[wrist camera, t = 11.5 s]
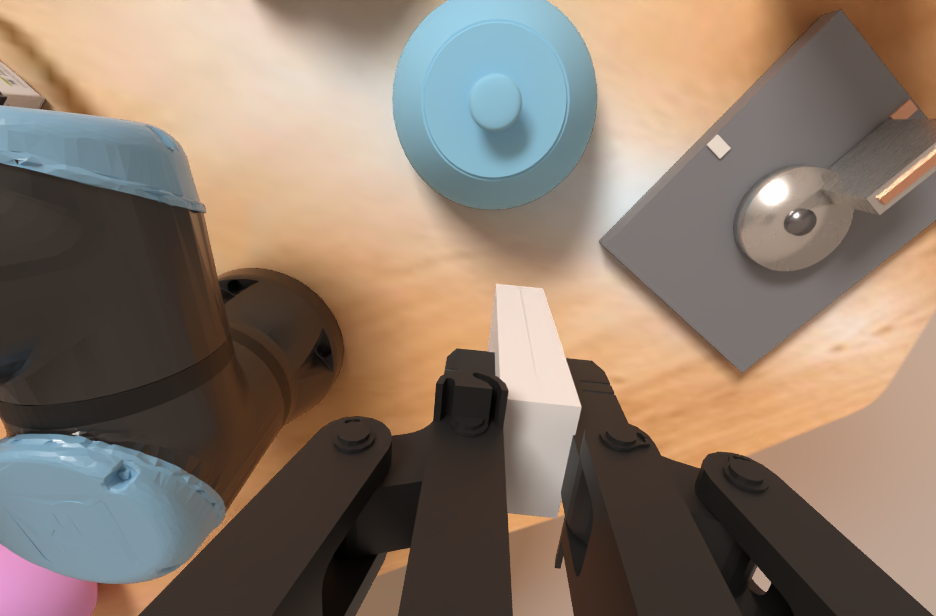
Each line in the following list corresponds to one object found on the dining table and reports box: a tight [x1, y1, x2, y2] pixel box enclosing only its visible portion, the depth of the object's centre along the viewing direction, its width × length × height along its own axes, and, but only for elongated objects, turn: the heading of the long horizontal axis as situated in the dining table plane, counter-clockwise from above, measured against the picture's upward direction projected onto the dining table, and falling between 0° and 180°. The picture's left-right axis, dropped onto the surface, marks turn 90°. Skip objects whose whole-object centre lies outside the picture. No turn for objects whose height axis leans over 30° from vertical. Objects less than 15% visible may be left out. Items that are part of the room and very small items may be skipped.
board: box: [599, 9, 936, 373], centre depth 38 cm, size 22×18×2 cm
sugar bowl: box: [393, 0, 597, 210], centre depth 32 cm, size 15×15×12 cm
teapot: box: [0, 544, 98, 616], centre depth 53 cm, size 20×14×12 cm
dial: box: [734, 119, 936, 271], centre depth 33 cm, size 13×8×6 cm, turn 138°
